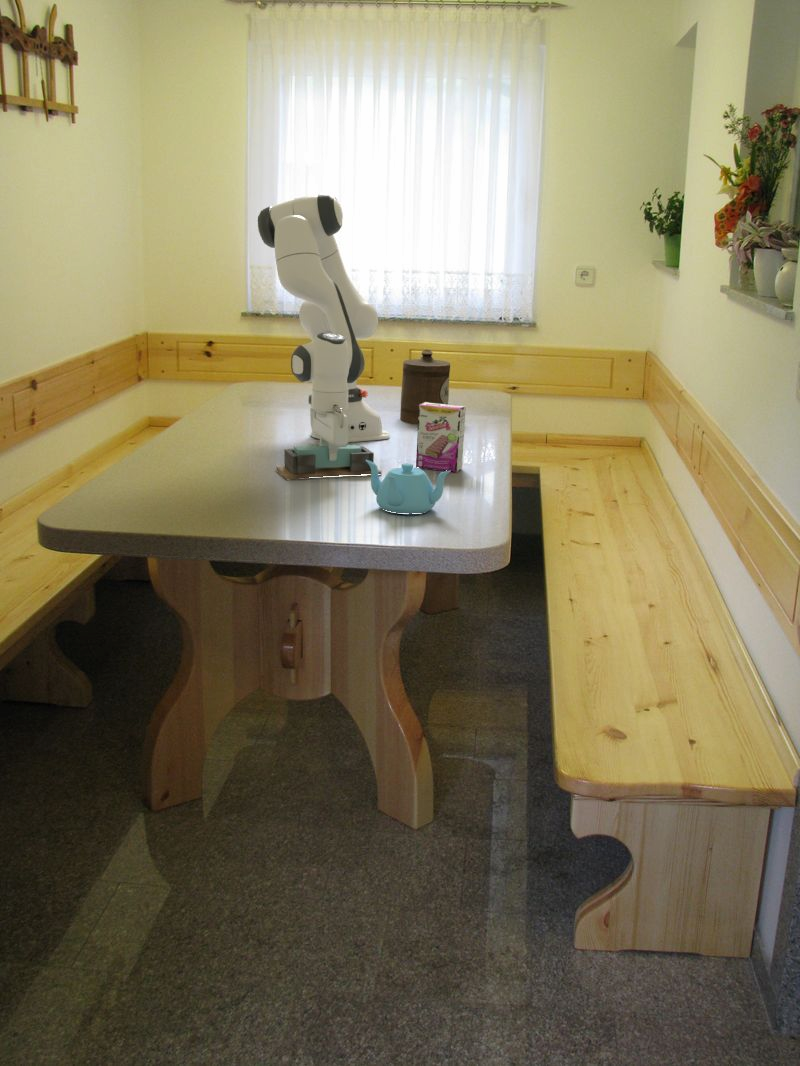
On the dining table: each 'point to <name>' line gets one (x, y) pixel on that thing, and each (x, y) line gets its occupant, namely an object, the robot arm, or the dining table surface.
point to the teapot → (406, 489)
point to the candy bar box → (440, 436)
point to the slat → (322, 455)
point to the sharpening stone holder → (306, 468)
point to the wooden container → (423, 385)
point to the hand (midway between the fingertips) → (328, 457)
